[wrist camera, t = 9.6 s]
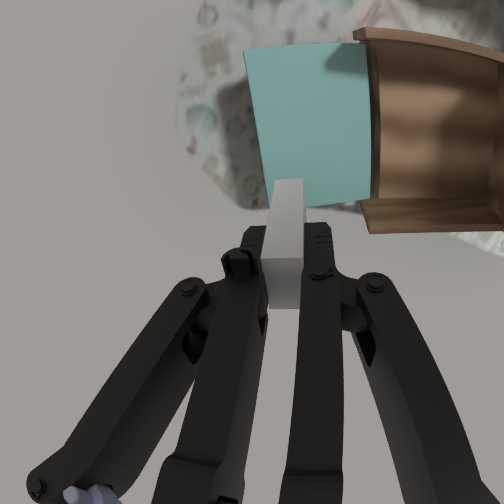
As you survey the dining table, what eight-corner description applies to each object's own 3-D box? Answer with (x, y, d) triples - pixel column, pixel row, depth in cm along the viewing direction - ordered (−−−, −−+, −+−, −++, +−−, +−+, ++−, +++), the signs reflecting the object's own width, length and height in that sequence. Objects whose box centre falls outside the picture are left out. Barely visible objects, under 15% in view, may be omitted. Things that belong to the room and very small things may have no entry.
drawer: (347, 33, 24) (384, 20, 12) (491, 55, 20) (570, 77, 8) (356, 194, 36) (379, 272, 25) (479, 195, 32) (531, 262, 21)
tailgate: (354, 44, 24) (242, 51, 24) (364, 43, 22) (243, 50, 22) (361, 188, 35) (267, 202, 35) (369, 198, 32) (270, 213, 33)
